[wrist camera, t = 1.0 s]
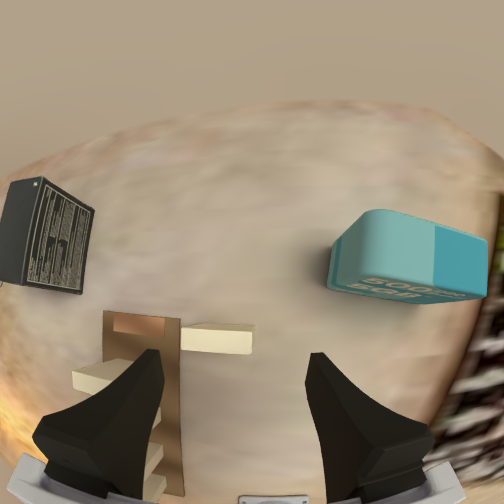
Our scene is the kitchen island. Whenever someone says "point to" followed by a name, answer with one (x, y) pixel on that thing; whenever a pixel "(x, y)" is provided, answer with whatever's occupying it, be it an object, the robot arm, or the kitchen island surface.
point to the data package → (408, 260)
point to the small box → (44, 236)
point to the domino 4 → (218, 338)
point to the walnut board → (168, 343)
